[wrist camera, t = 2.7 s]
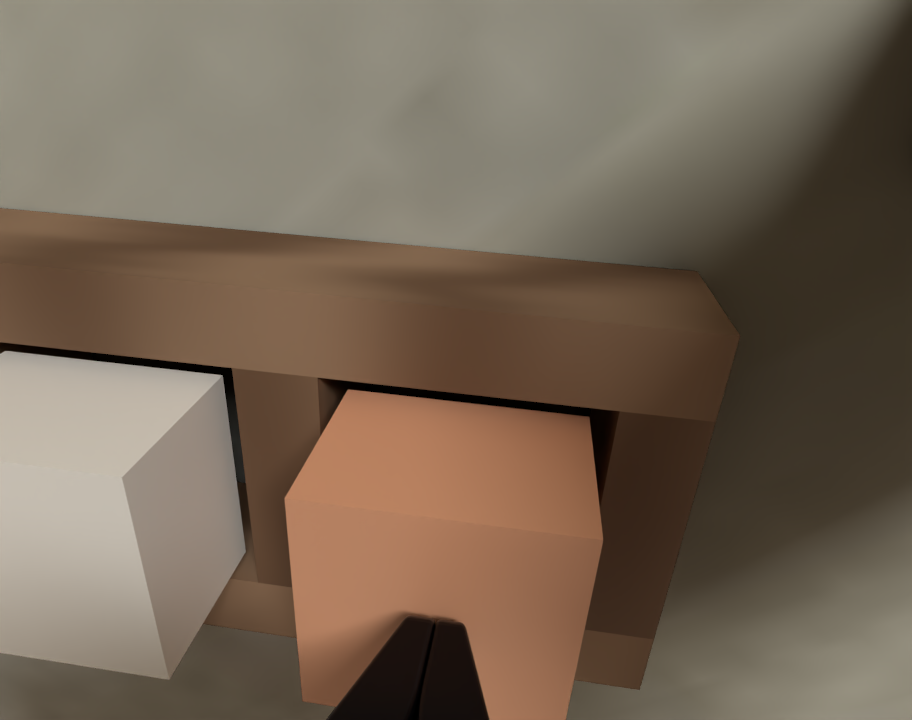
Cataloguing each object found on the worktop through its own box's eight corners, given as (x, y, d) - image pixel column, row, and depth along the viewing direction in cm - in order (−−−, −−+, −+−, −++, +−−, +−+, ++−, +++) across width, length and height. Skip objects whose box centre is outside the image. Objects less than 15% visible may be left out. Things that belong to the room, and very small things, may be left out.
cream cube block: (223, 375, 11) (121, 477, 9) (245, 551, 13) (169, 679, 10) (6, 350, 12) (-156, 441, 9) (59, 525, 14) (-62, 643, 11)
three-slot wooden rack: (697, 271, 12) (740, 336, 9) (623, 579, 16) (639, 689, 13) (-281, 183, 14) (-477, 215, 11) (-143, 475, 17) (-267, 553, 15)
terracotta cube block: (589, 415, 11) (603, 540, 8) (558, 594, 13) (560, 743, 10) (347, 389, 11) (284, 498, 8) (353, 566, 13) (302, 701, 10)
